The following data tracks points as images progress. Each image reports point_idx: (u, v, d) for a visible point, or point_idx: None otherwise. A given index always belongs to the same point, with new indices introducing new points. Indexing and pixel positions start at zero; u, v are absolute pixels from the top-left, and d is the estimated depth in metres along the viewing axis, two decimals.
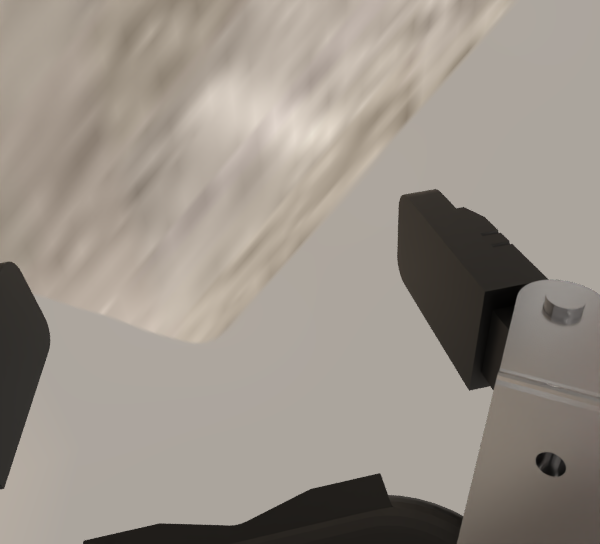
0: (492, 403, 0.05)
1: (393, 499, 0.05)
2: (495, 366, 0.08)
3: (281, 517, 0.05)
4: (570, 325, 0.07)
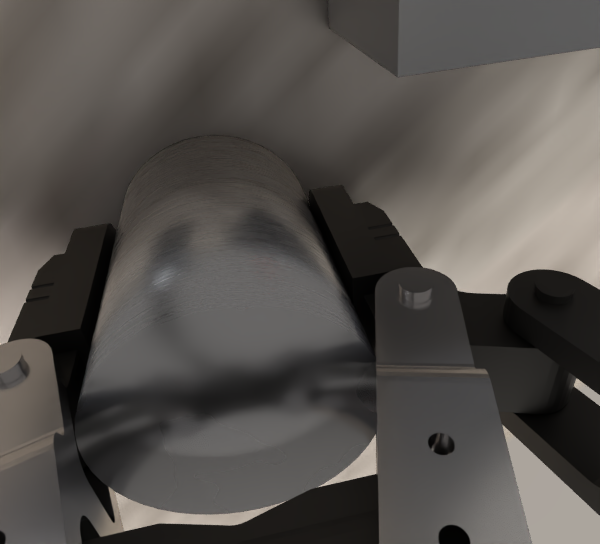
0: (378, 400, 0.05)
1: None
2: None
3: (282, 516, 0.05)
4: (415, 307, 0.07)
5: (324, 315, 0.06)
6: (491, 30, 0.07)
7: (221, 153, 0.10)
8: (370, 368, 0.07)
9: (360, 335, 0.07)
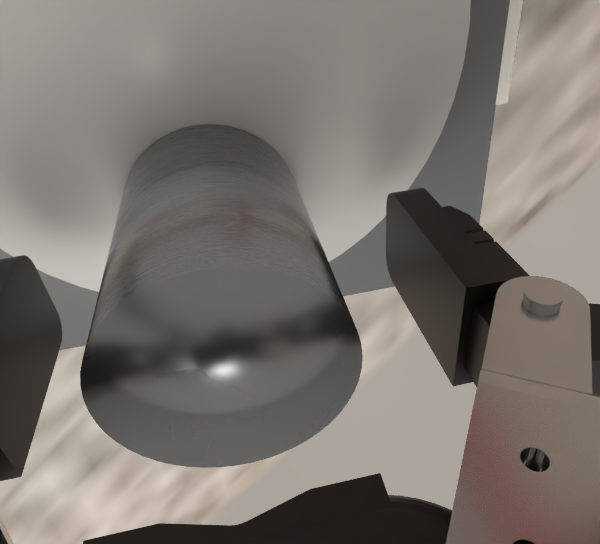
0: (475, 400, 0.05)
1: (393, 499, 0.05)
2: (477, 362, 0.08)
3: (281, 516, 0.05)
4: (547, 321, 0.07)
5: (302, 277, 0.07)
6: None
7: (215, 139, 0.11)
8: (346, 328, 0.08)
9: (336, 298, 0.08)
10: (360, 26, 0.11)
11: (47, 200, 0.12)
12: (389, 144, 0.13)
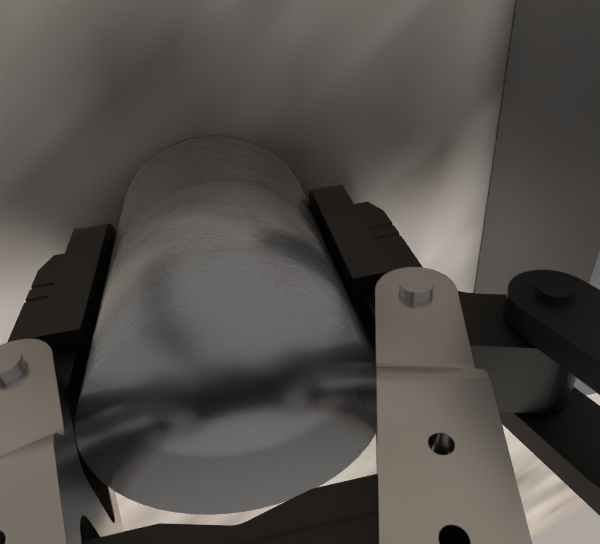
0: (378, 400, 0.05)
1: None
2: None
3: (281, 517, 0.05)
4: (416, 307, 0.07)
5: None
6: None
7: None
8: None
9: None
10: None
11: None
12: None
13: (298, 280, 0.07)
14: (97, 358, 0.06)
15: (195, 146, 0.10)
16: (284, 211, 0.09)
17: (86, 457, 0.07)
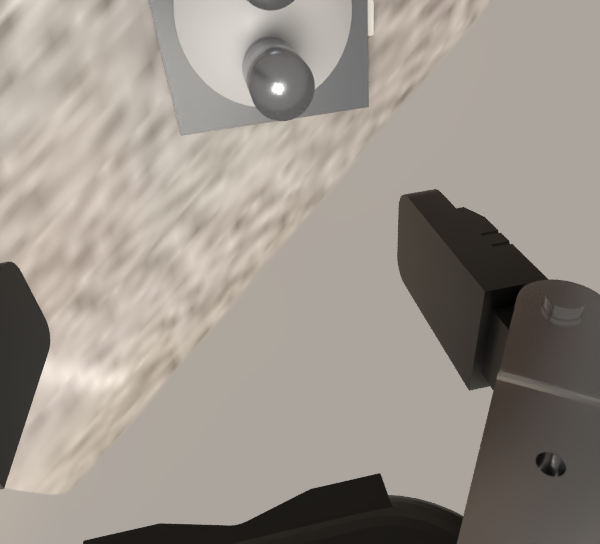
0: (492, 403, 0.05)
1: (393, 499, 0.05)
2: (495, 366, 0.08)
3: (282, 516, 0.05)
4: (570, 325, 0.07)
5: (299, 57, 0.33)
6: (195, 128, 0.41)
7: (273, 39, 0.36)
8: (310, 73, 0.33)
9: (307, 65, 0.33)
10: (317, 6, 0.36)
11: (219, 61, 0.37)
12: (329, 46, 0.38)
13: None
14: None
15: None
16: None
17: None
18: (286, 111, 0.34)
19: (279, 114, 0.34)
